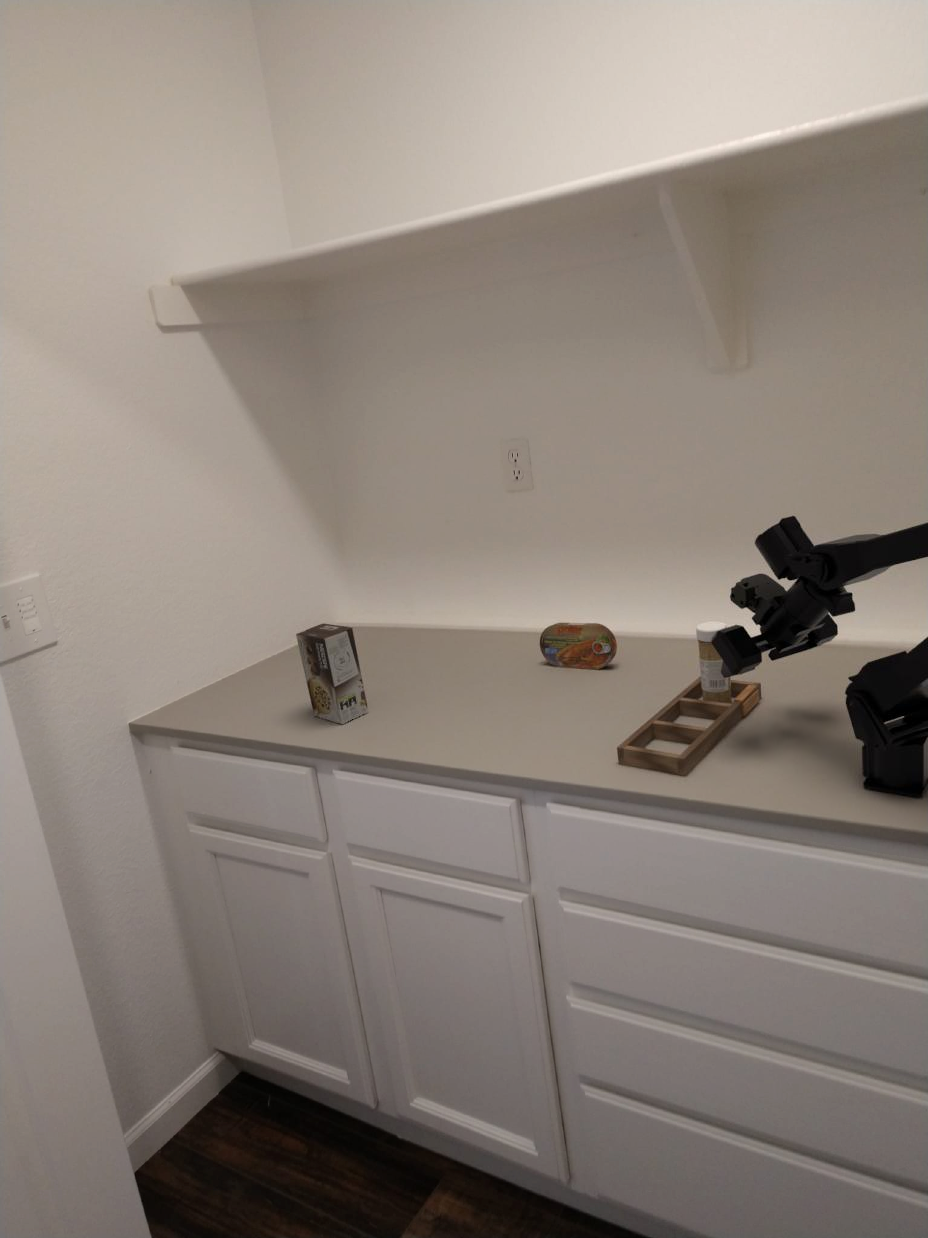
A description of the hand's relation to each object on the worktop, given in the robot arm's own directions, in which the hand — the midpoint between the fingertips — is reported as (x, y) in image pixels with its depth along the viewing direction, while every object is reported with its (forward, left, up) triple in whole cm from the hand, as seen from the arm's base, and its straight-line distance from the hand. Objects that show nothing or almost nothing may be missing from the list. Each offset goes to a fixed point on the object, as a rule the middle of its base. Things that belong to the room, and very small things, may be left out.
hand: (747, 666), depth 124 cm
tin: (+37, -13, -9) cm, 40 cm away
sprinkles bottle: (+6, -3, -9) cm, 11 cm away
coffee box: (+67, +21, -9) cm, 71 cm away
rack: (+6, +6, -8) cm, 12 cm away
